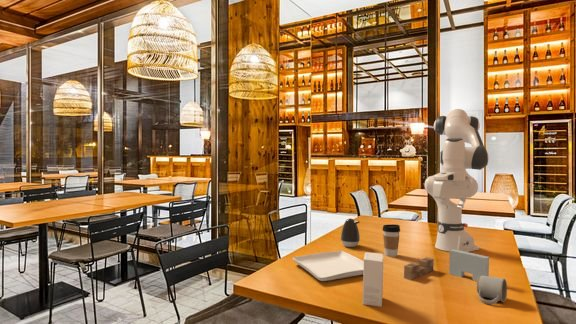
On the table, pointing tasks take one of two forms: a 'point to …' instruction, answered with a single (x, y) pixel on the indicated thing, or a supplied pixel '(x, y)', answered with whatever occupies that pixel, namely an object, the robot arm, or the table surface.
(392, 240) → the coffee cup
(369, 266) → the skincare box
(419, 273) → the walnut rail
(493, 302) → the ceramic mug
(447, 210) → the robot arm
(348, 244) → the pump dispenser
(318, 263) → the square plate
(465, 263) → the grey flat block
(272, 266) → the table surface
